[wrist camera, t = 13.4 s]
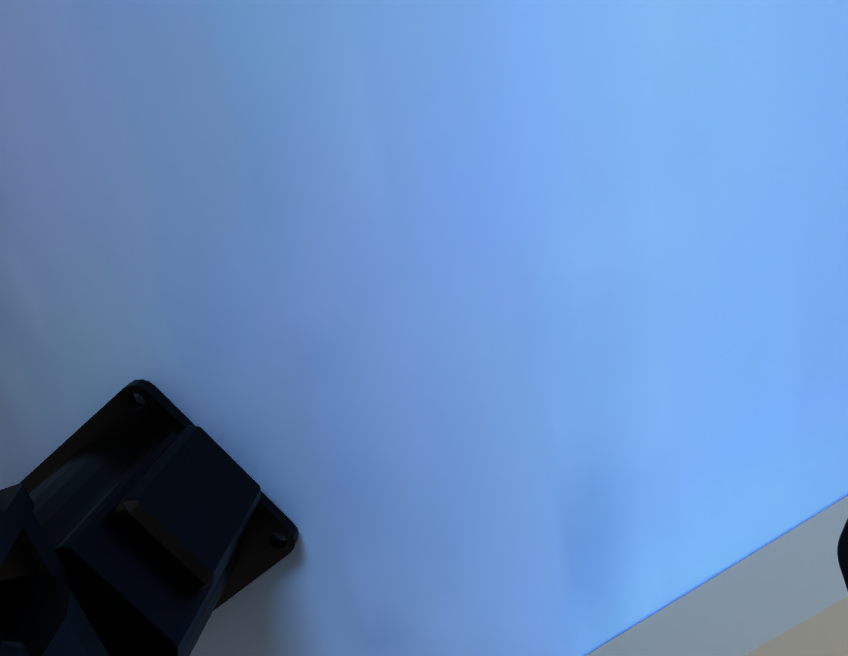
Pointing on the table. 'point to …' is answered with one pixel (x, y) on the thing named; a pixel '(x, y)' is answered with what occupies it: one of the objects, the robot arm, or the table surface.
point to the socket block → (758, 603)
